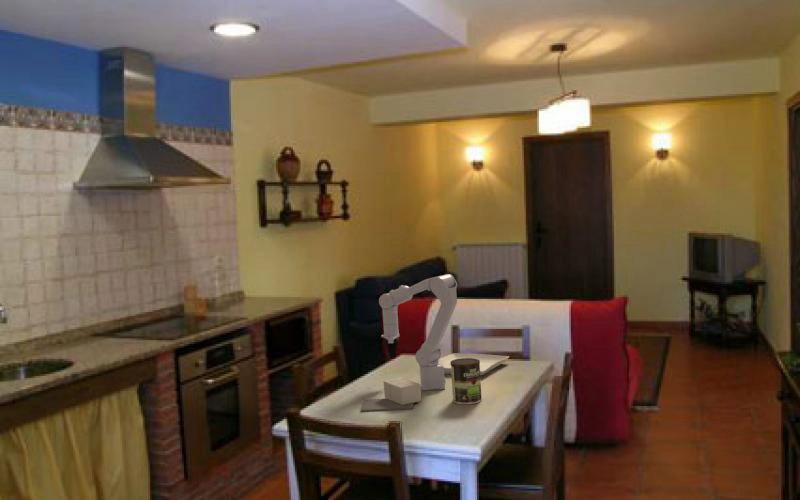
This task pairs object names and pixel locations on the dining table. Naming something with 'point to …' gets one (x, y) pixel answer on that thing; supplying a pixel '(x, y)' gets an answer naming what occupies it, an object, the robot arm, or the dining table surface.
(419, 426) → the dining table surface
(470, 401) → the coffee can
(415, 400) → the small box
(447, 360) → the square plate
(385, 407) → the mat
